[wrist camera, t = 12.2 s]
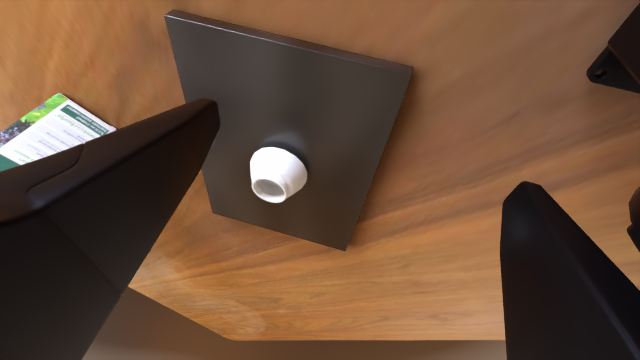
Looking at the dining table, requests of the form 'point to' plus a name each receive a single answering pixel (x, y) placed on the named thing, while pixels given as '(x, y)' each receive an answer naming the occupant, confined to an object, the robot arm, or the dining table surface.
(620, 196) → the dining table surface
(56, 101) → the syrup box
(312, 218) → the serving board
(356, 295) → the dining table surface
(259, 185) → the lidless jar
